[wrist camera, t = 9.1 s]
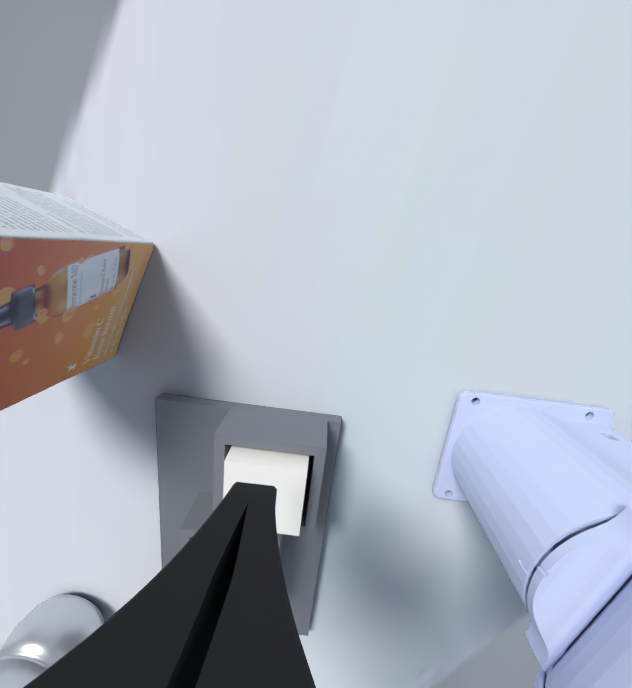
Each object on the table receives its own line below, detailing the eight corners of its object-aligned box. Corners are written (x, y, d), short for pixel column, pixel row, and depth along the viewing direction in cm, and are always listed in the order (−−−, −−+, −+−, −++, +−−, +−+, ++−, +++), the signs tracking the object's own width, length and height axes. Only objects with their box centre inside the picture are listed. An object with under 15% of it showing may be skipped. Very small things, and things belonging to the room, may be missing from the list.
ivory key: (310, 443, 19) (307, 471, 17) (303, 502, 20) (299, 536, 18) (237, 434, 19) (224, 461, 17) (235, 493, 20) (222, 526, 18)
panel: (341, 414, 21) (343, 450, 17) (308, 625, 27) (304, 684, 23) (161, 392, 21) (125, 422, 17) (168, 606, 27) (143, 662, 23)
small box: (117, 356, 20) (-91, 462, 10) (33, 315, 20) (-272, 385, 10) (159, 242, 18) (-55, 234, 8) (66, 192, 18) (-286, 118, 8)
